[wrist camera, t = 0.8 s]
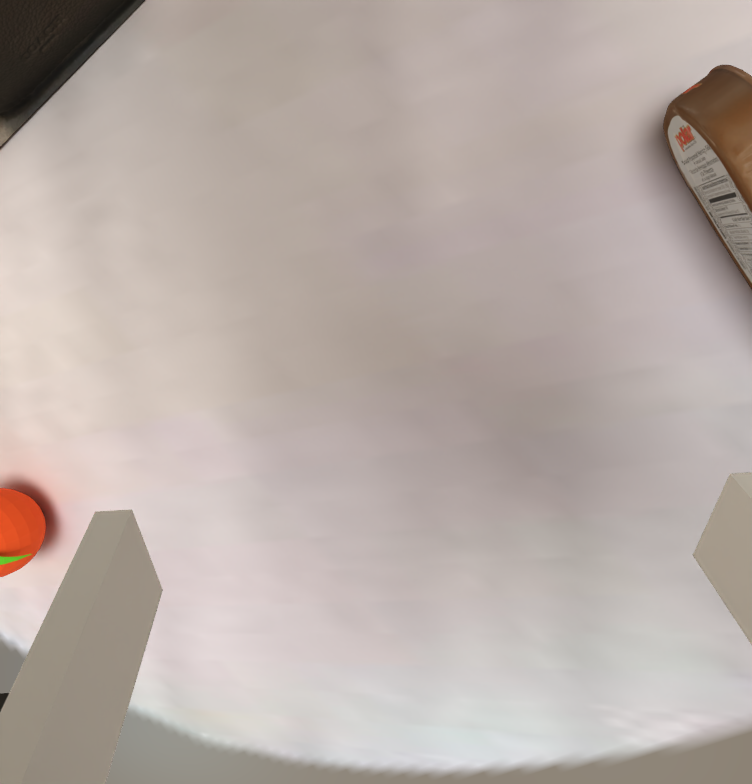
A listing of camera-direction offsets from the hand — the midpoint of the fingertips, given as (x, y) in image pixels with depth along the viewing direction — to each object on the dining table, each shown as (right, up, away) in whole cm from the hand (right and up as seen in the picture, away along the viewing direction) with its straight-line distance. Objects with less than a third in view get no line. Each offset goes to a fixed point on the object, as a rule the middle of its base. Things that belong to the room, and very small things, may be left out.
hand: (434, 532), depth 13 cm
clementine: (-30, -7, +34) cm, 46 cm away
